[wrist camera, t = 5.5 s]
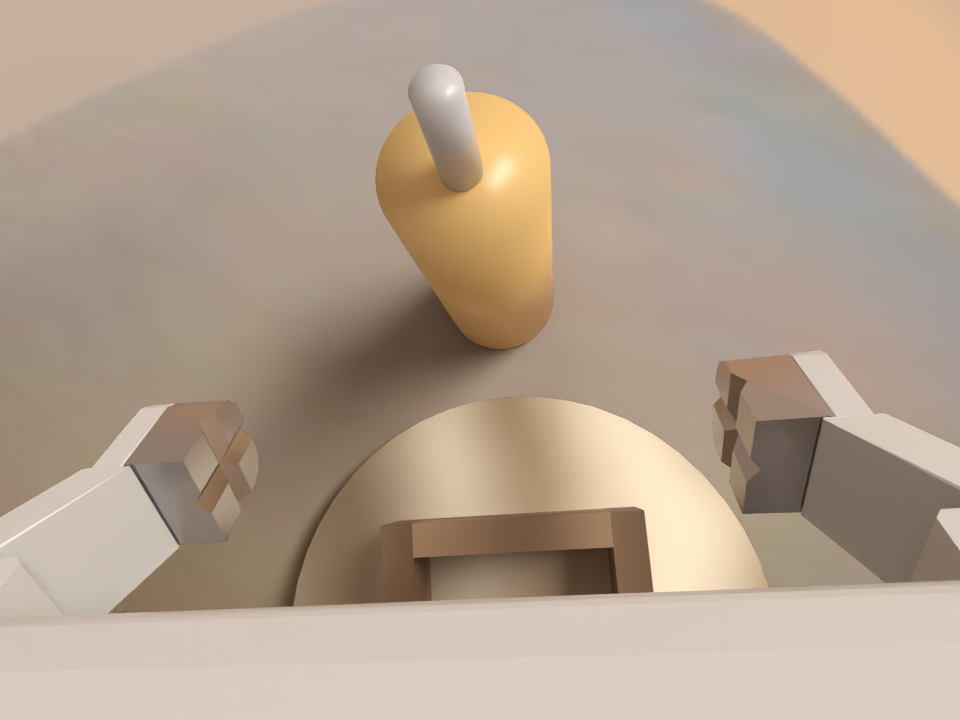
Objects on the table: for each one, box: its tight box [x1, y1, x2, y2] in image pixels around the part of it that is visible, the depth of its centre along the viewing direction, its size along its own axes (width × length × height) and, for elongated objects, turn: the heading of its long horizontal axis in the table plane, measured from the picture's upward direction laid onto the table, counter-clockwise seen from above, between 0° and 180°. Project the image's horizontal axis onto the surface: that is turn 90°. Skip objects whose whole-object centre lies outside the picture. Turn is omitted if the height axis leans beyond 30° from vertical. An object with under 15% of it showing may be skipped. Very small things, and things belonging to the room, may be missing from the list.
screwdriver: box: [376, 64, 553, 349], centre depth 17 cm, size 4×4×13 cm
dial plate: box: [293, 397, 769, 606], centre depth 19 cm, size 16×16×4 cm
